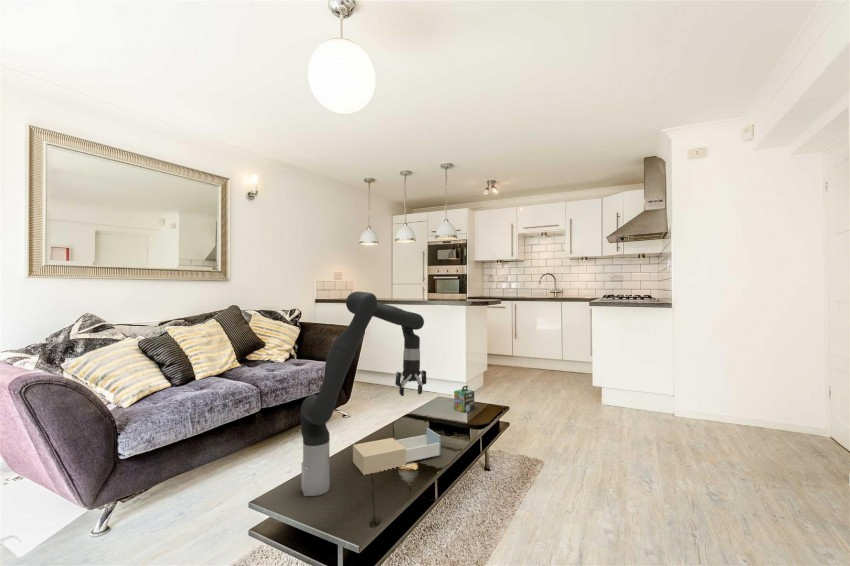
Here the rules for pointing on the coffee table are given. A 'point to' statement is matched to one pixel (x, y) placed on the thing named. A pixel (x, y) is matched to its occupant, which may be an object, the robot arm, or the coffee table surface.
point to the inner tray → (421, 446)
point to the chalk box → (464, 400)
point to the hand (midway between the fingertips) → (410, 394)
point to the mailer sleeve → (378, 455)
